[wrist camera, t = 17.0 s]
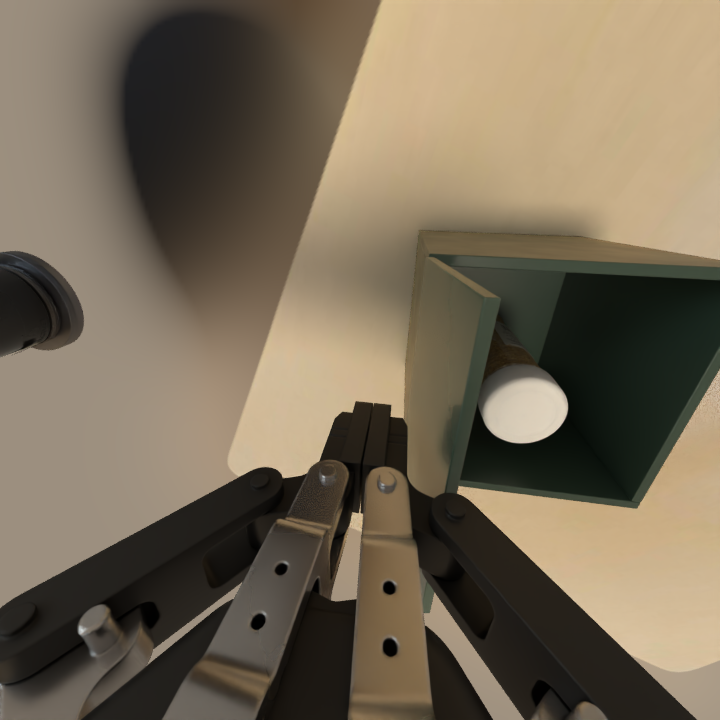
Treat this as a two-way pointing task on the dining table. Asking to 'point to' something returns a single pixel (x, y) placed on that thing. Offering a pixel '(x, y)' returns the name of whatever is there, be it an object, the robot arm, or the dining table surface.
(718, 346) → the chute
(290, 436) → the dining table surface
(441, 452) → the chute flap
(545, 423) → the sprinkles bottle
